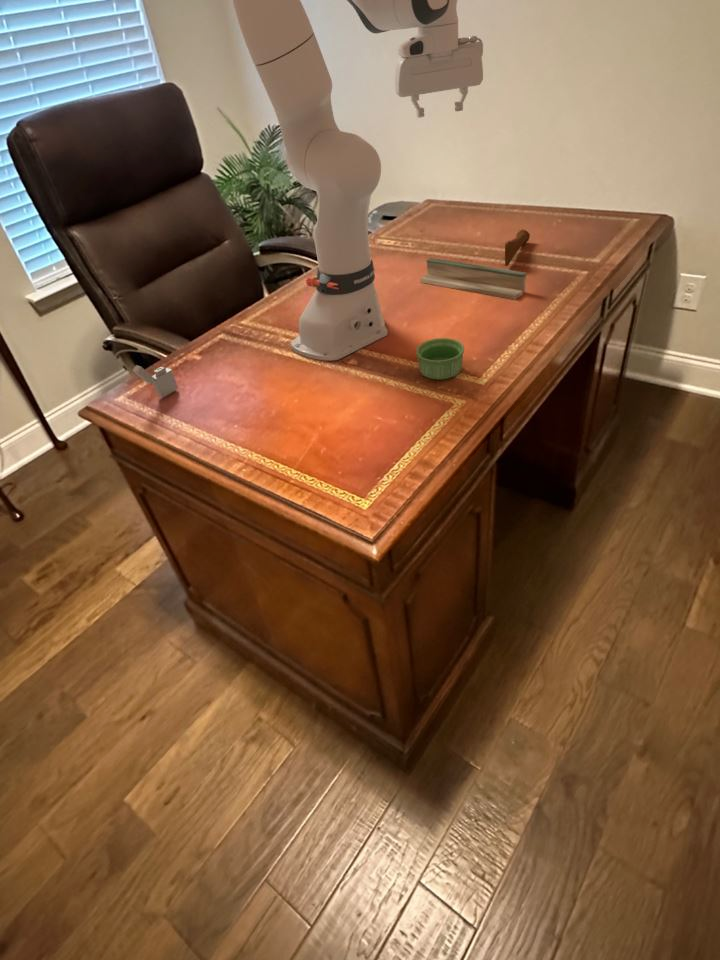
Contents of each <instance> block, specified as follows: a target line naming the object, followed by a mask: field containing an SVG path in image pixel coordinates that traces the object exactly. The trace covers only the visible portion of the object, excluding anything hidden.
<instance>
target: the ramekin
mask: <svg viewBox="0 0 720 960" xmlns="http://www.w3.org/2000/svg"><path fill="white" fill-rule="evenodd" d="M415 353H416V357H417V360H418V366H419V367H418V368H419V371H420V373H421V374H422V376H424V377H425V378H428V379H432V380H446V379H451V378H453V377H455V376H457V375H458V374H459V373H460V372H461V371H462V368H463V359H464V354H465V346H464V344H463V343H462V342H460V341H459V340H456V339H453V338H448V337H447V338H446V337H439V338H432V339H429V340H426V341H424V342H422V343H420V344H419V345H418V346H417V348H416V351H415Z"/></svg>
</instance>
